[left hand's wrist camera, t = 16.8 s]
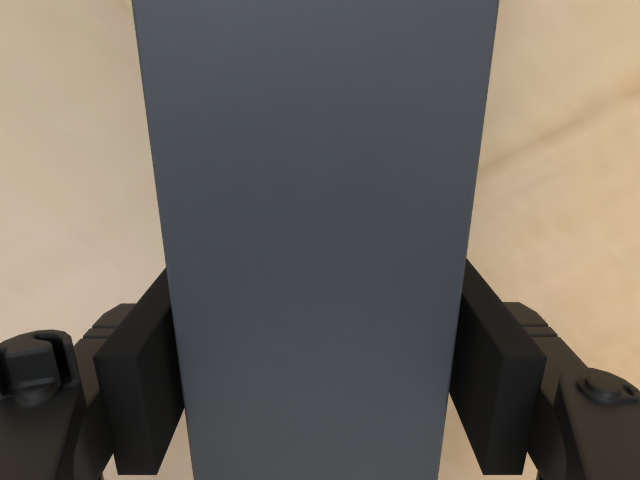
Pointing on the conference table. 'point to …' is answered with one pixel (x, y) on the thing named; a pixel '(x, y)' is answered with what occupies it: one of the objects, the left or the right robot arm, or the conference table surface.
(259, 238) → the bar
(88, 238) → the conference table surface
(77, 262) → the conference table surface
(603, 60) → the conference table surface
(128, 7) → the conference table surface
